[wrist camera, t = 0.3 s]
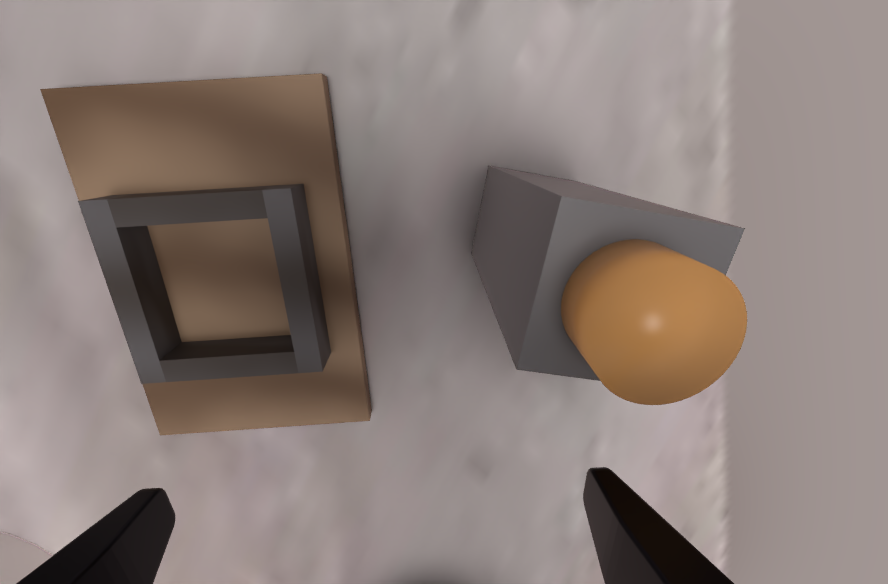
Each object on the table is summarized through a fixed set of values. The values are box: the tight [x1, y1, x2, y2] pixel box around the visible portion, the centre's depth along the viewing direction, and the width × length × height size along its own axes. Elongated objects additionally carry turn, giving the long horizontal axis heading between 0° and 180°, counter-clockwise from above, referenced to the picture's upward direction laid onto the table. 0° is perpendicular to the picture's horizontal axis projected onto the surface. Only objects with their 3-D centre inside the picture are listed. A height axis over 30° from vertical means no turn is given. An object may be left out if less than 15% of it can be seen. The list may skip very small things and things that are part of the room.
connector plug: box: [471, 166, 747, 405], centre depth 15 cm, size 4×4×14 cm
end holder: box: [40, 74, 372, 435], centre depth 21 cm, size 18×12×3 cm, turn 3°
